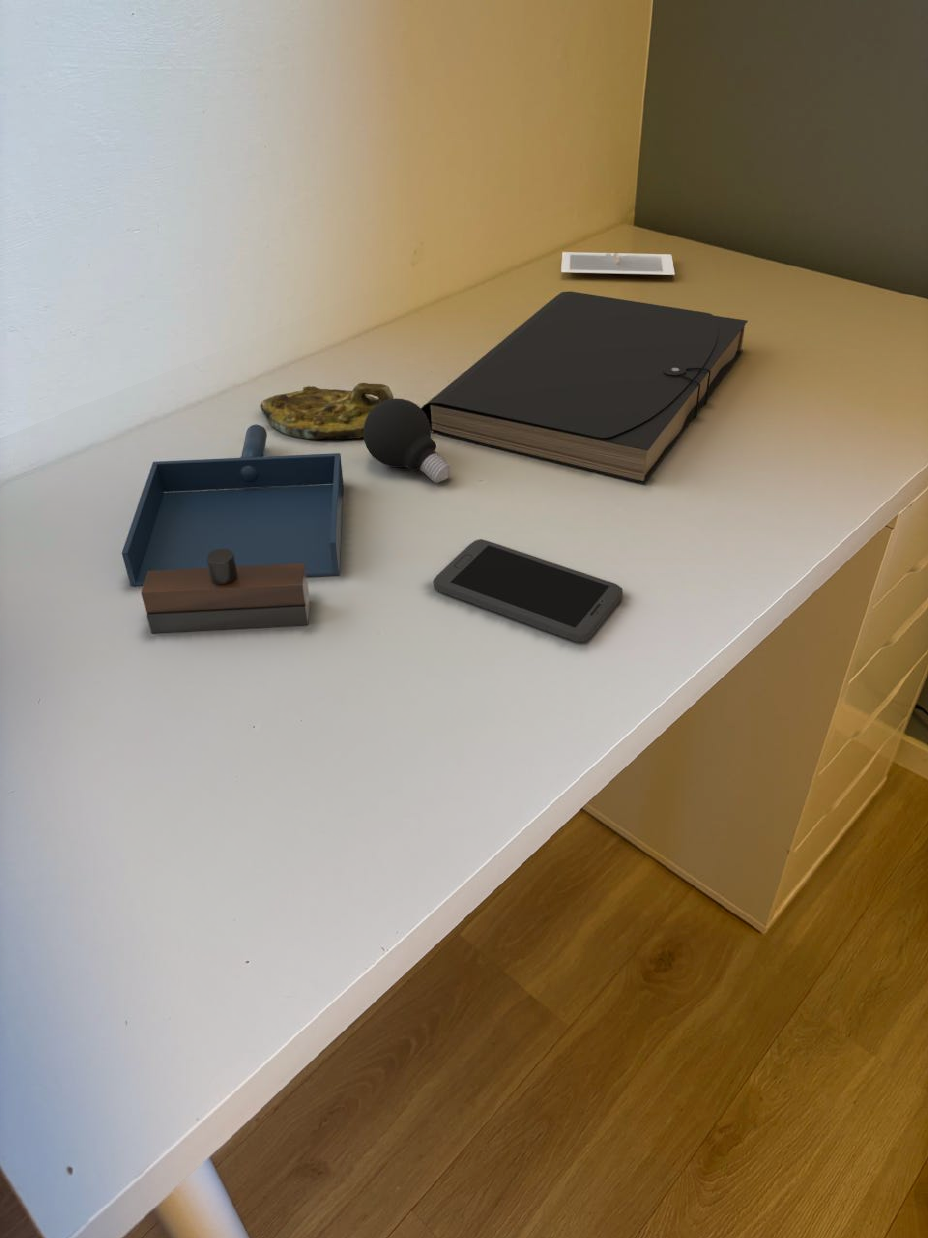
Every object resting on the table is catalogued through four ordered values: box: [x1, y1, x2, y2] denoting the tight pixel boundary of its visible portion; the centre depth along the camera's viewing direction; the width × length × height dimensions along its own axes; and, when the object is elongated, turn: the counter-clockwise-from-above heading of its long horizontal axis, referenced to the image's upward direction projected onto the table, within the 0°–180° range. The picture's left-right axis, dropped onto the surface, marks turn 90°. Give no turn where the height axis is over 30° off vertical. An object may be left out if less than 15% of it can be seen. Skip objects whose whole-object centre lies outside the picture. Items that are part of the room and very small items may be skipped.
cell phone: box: [432, 538, 624, 643], centre depth 79 cm, size 7×14×1 cm, turn 58°
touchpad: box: [560, 251, 676, 276], centre depth 135 cm, size 8×15×2 cm, turn 84°
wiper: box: [140, 549, 311, 634], centre depth 76 cm, size 3×12×6 cm, turn 94°
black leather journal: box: [420, 290, 749, 484], centre depth 107 cm, size 33×4×24 cm
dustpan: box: [121, 424, 344, 587], centre depth 89 cm, size 22×17×3 cm
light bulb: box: [363, 398, 451, 484], centre depth 94 cm, size 6×6×10 cm
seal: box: [259, 382, 394, 440], centre depth 102 cm, size 9×5×15 cm
